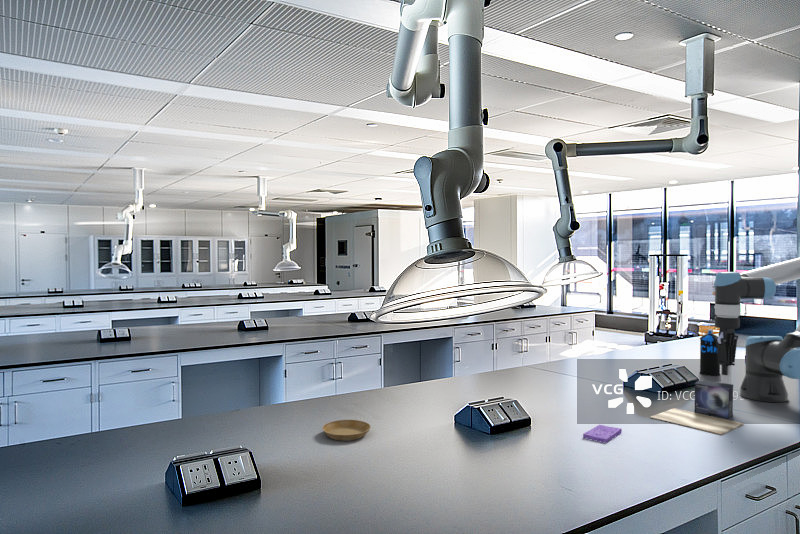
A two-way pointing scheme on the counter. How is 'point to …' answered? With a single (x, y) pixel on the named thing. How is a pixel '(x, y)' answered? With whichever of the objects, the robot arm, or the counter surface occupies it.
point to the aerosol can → (709, 355)
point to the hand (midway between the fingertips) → (726, 383)
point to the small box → (714, 399)
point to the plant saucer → (346, 429)
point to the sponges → (602, 433)
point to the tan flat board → (698, 421)
